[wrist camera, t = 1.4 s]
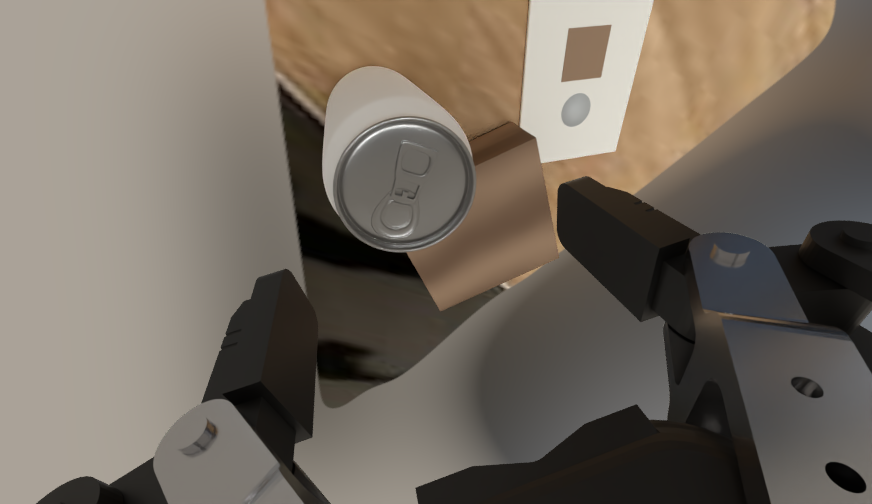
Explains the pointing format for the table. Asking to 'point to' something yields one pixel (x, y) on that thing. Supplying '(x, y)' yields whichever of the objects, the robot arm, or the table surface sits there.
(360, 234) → the can
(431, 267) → the base block
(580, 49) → the page
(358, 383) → the table surface
